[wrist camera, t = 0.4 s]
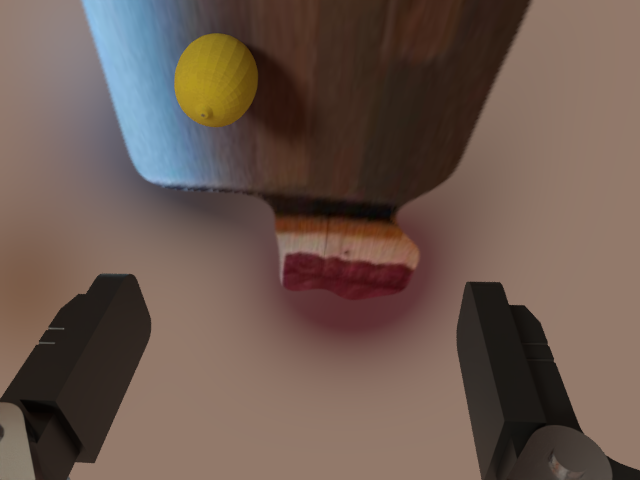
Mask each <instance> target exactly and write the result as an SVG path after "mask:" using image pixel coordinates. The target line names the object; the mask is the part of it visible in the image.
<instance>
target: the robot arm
mask: <svg viewBox="0 0 640 480" xmlns="http://www.w3.org/2000/svg"><path fill="white" fill-rule="evenodd" d="M150 333H151V318H150V315H149V312H148V309H147V306H146V304H145V301H144V298H143V295H142V293H141V290H140V287H139V284H138V281H137V279H136V277H135V276H134V275H132V274H100V275H98V276H97V278H96V279H95V280H94V282H93V284H92V285H91V287H90V288H89V290H88V291H87V293H86V294H78V295H77V296H76V297H74V298H73V299H72V300H71V301H70V302H68V303H67V304H66V305H65V306H64V307H62V308H61V309H60V310H59V312H58V313H57V315H56V316H55V318H54V319H53V321H52V322H51V324H50V325H49V329H48V330H46V331H45V333H44V334H43V336H42V337H41V339H40V340H39V345H36V346H35V348H34V349H33V351H32V352H31V354H30V355H29V357H28V358H27V360H26V361H25V363H24V364H23V366H22V367H21V369H20V370H19V372H18V373H17V375H16V376H15V378H14V379H13V381H12V382H11V384H10V385H9V387H8V388H7V390H6V391H5V393H4V394H3V396H2V397H1V398H0V480H70V478H69V474H70V472H71V470H72V468H73V465H74V463H75V462H83V463H95V461H96V458H97V456H98V454H99V452H100V449H101V447H102V445H103V443H104V440H105V438H106V436H107V433H108V431H109V429H110V427H111V424H112V422H113V420H114V418H115V415H116V413H117V411H118V409H119V406H120V404H121V402H122V400H123V397H124V395H125V393H126V391H127V388H128V386H129V384H130V382H131V379H132V377H133V375H134V373H135V370H136V368H137V366H138V364H139V361H140V359H141V357H142V355H143V352H144V350H145V348H146V345H147V343H148V341H149V337H150ZM547 344H548V342H547V339H546V337H545V334H544V331H543V328H542V326H541V323H540V322H539V321H538V320H537V319H536V317H535V316H534V315H533V314H532V313H531V312H530V311H529V310H528V309H527V308H526V307H525V306H524V305H509V304H508V301H507V298H506V295H505V292H504V288H503V286H502V284H501V283H500V282H467V283H466V285H465V289H464V294H463V299H462V304H461V309H460V314H459V319H458V324H457V351H458V357H459V362H460V367H461V373H462V378H463V383H464V388H465V394H466V399H467V404H468V410H469V415H470V420H471V425H472V431H473V436H474V441H475V446H476V452H477V457H478V462H479V468H480V473H481V479H482V480H640V471H639V470H637V469H634V468H631V467H628V466H625V465H623V464H620V463H618V462H616V461H614V460H612V459H611V458H609V457H608V456H606V455H605V454H604V452H603V451H602V450H601V448H600V447H599V446H598V445H597V444H596V443H595V442H594V441H593V440H591V439H590V438H589V437H587V436H586V435H584V433H583V432H582V430H581V428H580V426H579V424H578V421H577V419H576V416H575V413H574V411H573V408H572V405H571V403H570V400H569V397H568V395H567V392H566V389H565V387H564V384H563V381H562V379H561V376H560V374H559V371H558V368H557V366H556V363H554V358H553V355H552V353H551V350H550V347H549V346H548V345H547Z"/></svg>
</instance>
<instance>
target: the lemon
mask: <svg viewBox="0 0 640 480" xmlns="http://www.w3.org/2000/svg"><path fill="white" fill-rule="evenodd" d="M257 86H258V71H257V66H256V62H255V60H254V58H253V56H252V54H251V52H250V51H249V50H248V48H247V47H246V46H245V45H244V44H243V43H242V42H240V41H239V40H238V39H236V38H234V37H232V36H230V35H226V34H208V35H204V36H201V37H200V38H198V39H197V40H195V41H193V42H192V43H191V44H190V45H189V46H188V47H187V49H186V50H185V51H184V52H183V54H182V55H181V57H180V60H179V62H178V65H177V68H176V71H175V85H174V87H175V94H176V97H177V101H178V103H179V105H180V106H181V108H182V110H183V111H184V112H185V113H186V114H187V116H189V117H190V118H191V119H192V120H194V121H195V122H197V123H199V124H202V125H205V126H209V127H223V126H226V125H229V124H232V123H233V122H235V121H236V120H238V119H239V118H240V117H241V116H242V115H243V114H244V113H245V112H246V110H247V109H248V108H249V106H250V105H251V103H252V101H253V99H254V96H255V93H256V90H257Z"/></svg>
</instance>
